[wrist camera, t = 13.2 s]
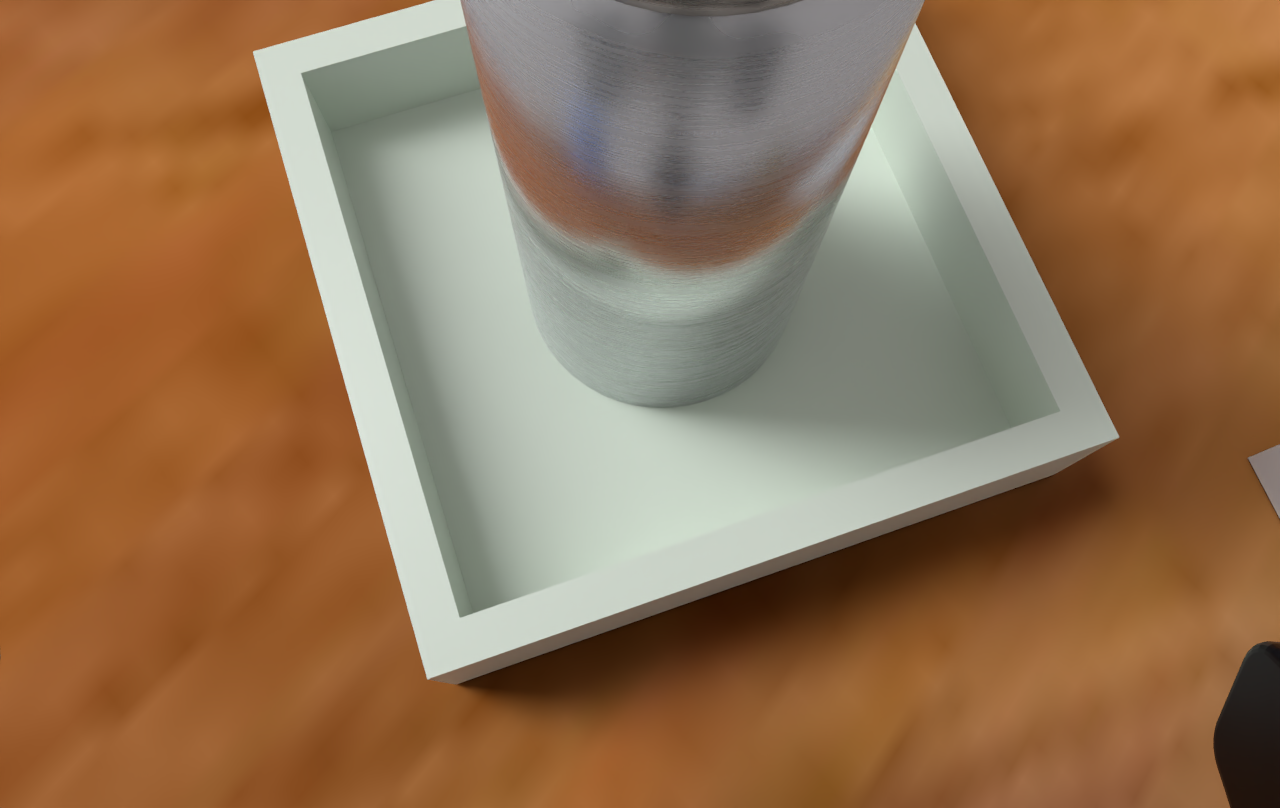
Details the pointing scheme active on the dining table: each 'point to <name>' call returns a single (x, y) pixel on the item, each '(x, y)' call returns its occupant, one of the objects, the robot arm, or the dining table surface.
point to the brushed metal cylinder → (676, 170)
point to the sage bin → (635, 435)
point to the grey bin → (1269, 473)
